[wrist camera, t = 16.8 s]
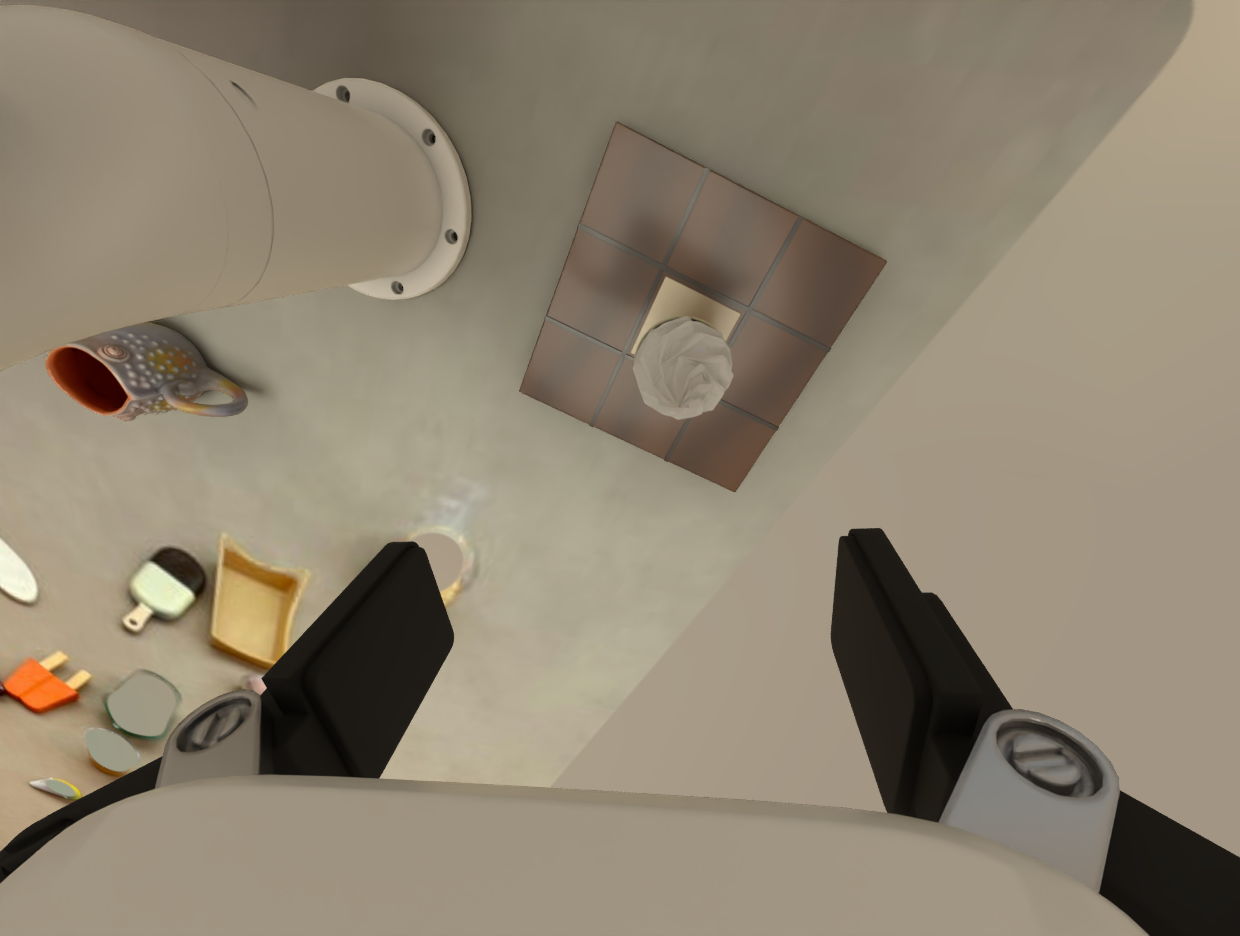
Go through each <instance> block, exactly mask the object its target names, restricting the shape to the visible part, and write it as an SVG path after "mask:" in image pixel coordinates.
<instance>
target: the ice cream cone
mask: <svg viewBox="0 0 1240 936" xmlns="http://www.w3.org/2000/svg"><path fill="white" fill-rule="evenodd" d="M633 371H634V374H635V377H636V380H637V384H638V388H639V390H640V393H641V395H642V398H643V401H644V403H645V404H646V405H648V406H650V407H651V408H653V409H654V410H656V411H658V412H659V413H661V414H663V415H666V416H671V417H673V418H675V419H677V420H679V419H685V418H691V417H696V416H698V415H701V414H702V412H707V411H711V410H713V409H714V408H715V406H716V405H717V404H718V402H719V401H720V399H721V398H722V396H723V395H724V391H725V390H726V389H727V388H728V387H729V386H730V383H731V381H732V379H733V376H734V375H733V373H732V359H731V352H730V348H729V347H728V345H727V343H726V341H725V339H724V337H723V334H722V333H721V332H720V331H718V330H717V329H716V328H715V327H714V326H712V325H711V324H710V323H708V322H706V321H704V320H702V319H699V318H696V317H692V316H674V317H670V318H667V319H664V320H662V321H660V322H658V323H657V324H655V325H654V326H652V327H651V328H650V329H649V330H648V331H647V332H646V333H645V334H644V336H643V337H642V338H641V340H640V342H639V344H638V346H637V348H636V352H635V356H634V365H633Z"/></svg>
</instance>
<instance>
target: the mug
mask: <svg viewBox="0 0 1240 936" xmlns="http://www.w3.org/2000/svg"><path fill="white" fill-rule="evenodd" d="M45 365H46V369H47V372H48V374H49V376H50V378H51V379H52V380H53V381H54V382H55V384H56V385H57V386H58V387H59V388H60V389H61V390H62V391H64V392H65V393H66V394H67V395H69V396H70V397H71V398H72V399H74V400H75V401H76V402H77V403H79V404H80V405H82V406H83V407H85V408H87V409H88V410H90V411H92V412H94V413H96V414H99V415H103V416H113V417H117V418H120V419H121V420H123V421H131V420H134V419H135V418H136V416H138V415H140V414H144V415H146V414H148V413H154V414H159V413H166V412H168V411H171V410H177V409H178V410H181V411H184V412H187V413H191V414H196V415H201V416H212V417H227V416H233V415H237V414H239V413H241V412H242V411H244V410H245V408H246V407H247V404H248V399H247V396H246V394H245V392H244V391H243V390H242V389H241V388H240V387H239V386H238V385H236V384H235V383H233V382H232V381H230V380H229V379H227V378H226V377H224V376H222V375H220V374H219V373H217V372H215V371H213V370H211V369H209V368H208V366H207V365H206V363H205V361H204V360H203V358H202V356H201V354H200V352H199V351H198V350H197V348H196V347H195V346H194V345H193V344H192V343H191V342H190V341H189V340H188V339H186V338H185V337H184V336H183V335H181V334H180V333H178V332H176V331H174V330H172V329H170V328H168V327H165V326H162V325H158V324H154V323H149V322H144V323H139V324H135V325H131V326H127V327H123V328H119V329H115V330H111V331H107V332H103V333H100V334H97V335H94V336H90V337H87V338H84V339H81V340H78V341H75V342H71V343H68V344H66V345H63V346H60V347H58V348H55V349H52V350H51V351H50V352H49V354H48V356H47V359H46V363H45ZM207 390H216V391H220V392H223V393H225V394H227V395H229V396H230V397H232V399H233V402H231V403H228V404H220V405H205V404H198V403H193V401H195V400H196V399H197V398H198V397H199V396H200V395H201V394H202V392H204V391H207Z"/></svg>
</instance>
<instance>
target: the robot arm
mask: <svg viewBox="0 0 1240 936" xmlns="http://www.w3.org/2000/svg"><path fill="white" fill-rule="evenodd" d="M349 95H350V100H349ZM434 135H435V136H436V141H435V143H433V141H432V137H433V136H434ZM471 219H472V216H471V197H470V192H469V187H468V182H467V177H466V174H465V171H464V169H463V166H462V163H461V161H460V158H459V155H458V153H457V152H456V150H455V148H454V146H453V144H452V142H451V141H450V139H449V137H448V135H447V134H446V133H445V131H444V130H443V129H442V128H441V126H440V125H439V124H438V122H437V121H436V120H435V119H434V117H433V116H432V115H431V114H429V113H428V112H427V111H426V110H425V109H424V108H423V107H422V106H421V105H420V104H419V103H418V102H416V101H415V100H413V99H411V98H410V97H408V96H407V95H405V94H403V93H402V92H400V91H398V90H396V89H394V88H391V87H389V86H387V85H385V84H383V83H379V82H375V81H371V80H368V79H364V78H342V79H338V80H334V81H331V82H327V83H325V84H323V85H321V86H320V87H318V88H316V89H314V90H313V91H311V90H308V89H305V88H302V87H299V86H296V85H293V84H290V83H288V82H285V81H282V80H279V79H276V78H273V77H270V76H267V75H264V74H261V73H258V72H255V71H253V70H250V69H247V68H244V67H241V66H238V65H235V64H232V63H229V62H226V61H223V60H221V59H218V58H215V57H212V56H209V55H206V54H203V53H200V52H197V51H194V50H191V49H188V48H186V47H183V46H180V45H177V44H174V43H171V42H168V41H165V40H162V39H159V38H156V37H153V36H151V35H148V34H146V33H144V32H141V31H139V30H136V29H133V28H130V27H127V26H124V25H121V24H118V23H115V22H112V21H109V20H106V19H103V18H100V17H97V16H93V15H89V14H85V13H81V12H77V11H72V10H67V9H62V8H54V7H46V6H37V5H0V371H1V370H3V369H6V368H8V367H11V366H13V365H15V364H18V363H20V362H22V361H25V360H27V359H29V358H32V357H34V356H37V355H39V354H42V353H44V352H47V351H50V350H52V349H55V348H58V347H60V346H63V345H66V344H68V343H71V342H75V341H78V340H81V339H84V338H87V337H90V336H94V335H97V334H100V333H103V332H107V331H111V330H115V329H119V328H123V327H127V326H131V325H135V324H139V323H144V322H149V321H153V320H158V319H163V318H168V317H173V316H178V315H183V314H189V313H194V312H199V311H205V310H210V309H216V308H221V307H228V306H235V305H240V304H246V303H252V302H257V301H262V300H268V299H273V298H279V297H284V296H290V295H295V294H301V293H306V292H312V291H317V290H322V289H328V288H333V287H339V286H344V285H347V286H349V287H350V288H352V289H354V290H356V291H357V292H360V293H363V294H366V295H368V296H371V297H374V298H380V299H386V300H402V299H409V298H413V297H417V296H420V295H423V294H425V293H428V292H430V291H433V290H434V289H435V288H437V287H438V286H440V285H441V284H442V283H444V282H445V281H446V280H447V279H448V278H449V276H450V275H451V274H452V273H453V272H454V271H455V270H456V268H457V266H458V264H459V262H460V261H461V259H462V257H463V255H464V252H465V249H466V246H467V243H468V240H469V235H470V227H471ZM455 233H456V234H457V236H458V240H455V238H454V234H455ZM401 284H402V286H403V289H402V287H401ZM453 642H454V632H453V629H452V626H451V623H450V620H449V617H448V615H447V612H446V609H445V606H444V603H443V600H442V597H441V594H440V592H439V589H438V586H437V583H436V580H435V577H434V574H433V571H432V569H431V566H430V563H429V560H428V557H427V554H426V552H425V550H424V549H423V548H421V547H419V546H418V544H417V543H415V542H391V543H388V544H387V545H386V546H385V547H384V548H383V549H382V550H381V551H380V552H379V553H378V554H377V555H376V556H375V557H374V558H373V560H372V561H371V562H370V563H369V564H368V565H367V566H366V567H365V568H364V569H363V570H362V571H361V572H360V573H359V575H358V576H357V577H356V578H355V579H354V580H353V581H352V582H351V583H350V584H349V585H348V586H347V587H346V588H345V590H344V591H343V592H342V593H341V594H340V595H339V596H338V597H337V598H336V599H335V600H334V601H333V602H332V603H331V605H330V606H329V607H328V608H327V609H326V610H325V611H324V612H323V613H322V614H321V615H320V616H319V617H318V618H317V620H316V621H315V622H314V623H313V624H312V625H311V626H310V627H309V628H308V629H307V630H306V631H305V632H304V634H303V635H302V636H301V637H300V638H299V639H298V640H297V641H296V642H295V643H294V644H293V645H292V646H291V647H290V649H289V650H288V651H287V652H286V653H285V654H284V655H283V656H282V657H281V658H280V659H279V660H278V661H277V662H276V664H275V665H274V666H273V667H272V668H271V669H270V670H269V671H268V672H267V673H266V674H265V675H264V676H263V677H262V680H263V682H264V684H265V685H266V687H267V689H266V690H265V691H264V692H263V693H262V694H261V695H259V694H258V693H256V692H255V691H253V690H246V689H243V690H237V691H232V692H229V693H226V694H223V695H220V696H218V697H216V698H214V699H212V700H210V701H208V702H206V703H205V704H203V705H202V706H200V707H199V708H197V709H196V710H194V711H193V712H192V713H190V714H189V715H188V716H187V717H186V718H185V719H184V720H183V721H181V722H180V723H179V724H178V726H177V727H176V728H175V729H174V731H173V732H172V733H171V734H170V736H169V738H168V740H167V743H166V745H165V748H164V752H163V756H162V757H160V758H158V759H156V760H154V761H152V762H150V763H148V764H147V765H145V766H143V767H141V768H139V769H137V770H135V771H133V772H131V773H129V774H127V775H125V776H123V777H121V778H119V779H117V780H115V781H114V782H112V783H110V784H108V785H106V786H104V787H102V788H100V789H98V790H96V791H94V792H92V793H90V794H88V795H86V796H84V797H82V798H81V799H79V800H77V801H75V802H73V803H71V804H69V805H67V806H65V807H63V808H61V809H59V810H57V811H55V812H53V813H52V814H50V815H48V816H46V817H45V818H43V819H41V820H39V821H37V822H36V823H34V824H32V825H31V826H29V827H27V828H26V829H25V830H23V831H22V832H21V833H19V834H18V835H17V836H16V837H15V838H14V839H13V840H12V841H11V842H10V843H9V844H8V845H7V846H6V847H5V848H4V849H3V850H2V851H0V936H1240V857H1238V856H1236V855H1234V854H1233V853H1231V852H1229V851H1227V850H1226V849H1224V848H1222V847H1220V846H1218V845H1216V844H1215V843H1213V842H1211V841H1209V840H1208V839H1206V838H1204V837H1202V836H1201V835H1199V834H1197V833H1195V832H1193V831H1192V830H1190V829H1188V828H1186V827H1184V826H1183V825H1181V824H1179V823H1177V822H1176V821H1174V820H1172V819H1170V818H1168V817H1167V816H1165V815H1163V814H1161V813H1159V812H1158V811H1156V810H1154V809H1152V808H1150V807H1149V806H1147V805H1145V804H1143V803H1142V802H1140V801H1138V800H1136V799H1134V798H1133V797H1131V796H1129V795H1127V794H1126V793H1124V792H1122V791H1120V789H1119V777H1118V775H1117V774H1116V771H1115V769H1114V768H1113V765H1112V764H1111V761H1110V760H1109V759H1108V758H1107V757H1106V756H1105V754H1104V753H1103V752H1102V751H1101V750H1100V749H1099V748H1098V747H1097V746H1096V745H1095V744H1094V743H1093V742H1092V741H1090V740H1089V739H1088V738H1086V737H1085V736H1084V735H1083V734H1082V733H1080V732H1079V731H1077V730H1075V729H1074V728H1072V727H1070V726H1068V725H1067V724H1065V723H1063V722H1061V721H1060V720H1057V719H1054V718H1052V717H1049V716H1046V715H1044V714H1041V713H1038V712H1033V711H1026V710H1022V709H1014V710H1013V709H1012V707H1011V706H1010V704H1009V702H1008V701H1007V699H1006V698H1005V696H1004V695H1003V693H1002V692H1001V691H1000V689H999V687H998V686H997V684H996V683H995V681H994V680H993V678H992V677H991V675H990V674H989V672H988V671H987V669H986V668H985V666H984V665H983V664H982V662H981V660H980V659H979V657H978V656H977V654H976V653H975V651H974V650H973V648H972V646H971V645H970V644H969V642H968V640H967V639H966V637H965V636H964V634H963V633H962V631H961V630H960V628H959V627H958V625H957V624H956V622H955V621H954V619H953V618H952V617H951V615H950V613H949V612H948V610H947V609H946V607H945V606H944V604H943V603H942V601H941V600H940V599H939V598H938V596H937V595H935V594H933V593H922V592H921V591H920V590H919V588H918V586H917V585H916V583H915V581H914V580H913V578H912V576H911V575H910V573H909V572H908V570H907V568H906V567H905V565H904V564H903V562H902V560H901V559H900V557H899V556H898V554H897V552H896V551H895V549H894V548H893V546H892V544H891V543H890V541H889V539H888V538H887V537H886V535H885V533H884V532H883V530H882V529H880V528H868V529H851V530H850V531H849V533H848V536H841V537H840V539H839V545H838V557H837V569H836V580H835V591H834V603H833V614H832V625H831V644H832V649H833V653H834V656H835V659H836V662H837V665H838V667H839V671H840V673H841V677H842V680H843V683H844V686H845V689H846V692H847V694H848V697H849V700H850V704H851V707H852V710H853V713H854V716H855V719H856V722H857V725H858V728H859V731H860V734H861V737H862V740H863V742H864V746H865V749H866V752H867V755H868V758H869V761H870V764H871V767H872V770H873V773H874V776H875V779H876V782H877V785H878V788H879V791H880V794H881V797H882V800H883V803H884V806H885V808H886V811H887V813H883V812H875V811H867V810H860V809H859V810H858V809H852V808H843V807H830V806H818V805H806V804H792V803H781V802H768V801H755V800H742V799H726V798H710V797H694V796H677V795H661V794H646V793H630V792H614V791H597V790H579V789H562V788H545V787H528V786H510V785H492V784H474V783H456V782H436V781H416V780H396V779H379V778H380V776H381V774H382V773H383V771H384V769H385V767H386V765H387V764H388V762H389V760H390V758H391V756H392V755H393V753H394V751H395V749H396V747H397V746H398V744H399V742H400V740H401V738H402V737H403V735H404V733H405V731H406V729H407V728H408V726H409V724H410V722H411V720H412V719H413V717H414V715H415V713H416V711H417V710H418V708H419V706H420V704H421V702H422V701H423V699H424V697H425V695H426V693H427V692H428V690H429V688H430V686H431V684H432V683H433V681H434V679H435V677H436V675H437V674H438V672H439V670H440V668H441V666H442V665H443V663H444V661H445V659H446V657H447V656H448V654H449V652H450V650H451V648H452V646H453Z"/></svg>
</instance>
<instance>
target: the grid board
mask: <svg viewBox="0 0 1240 936" xmlns="http://www.w3.org/2000/svg"><path fill="white" fill-rule="evenodd" d="M577 228H578V229H577V232H576V234H575V237H574V240H573V243H572V246H571V248H570V251H569V254H568V257H567V259H566V262H565V265H564V268H563V271H562V273H561V276H560V279H559V282H558V284H557V287H556V290H555V293H554V296H553V298H552V301H551V304H550V307H549V309H548V312H547V315H546V316H545V319H544V320H545V321H544V323H543V326H542V329H541V332H540V334H539V337H538V340H537V343H536V346H535V348H534V351H533V354H532V357H531V359H530V362H529V365H528V368H527V371H526V373H525V376H524V379H523V382H522V384H521V387H520V390H519V391H520V392H521V393H523V394H526V395H528V396H530V397H532V398H534V399H536V400H538V401H541V402H543V403H545V404H547V405H549V406H551V407H553V408H556V409H558V410H560V411H562V412H564V413H566V414H568V415H570V416H573V417H575V418H577V419H579V420H581V421H583V422H585V423H588V424H590V426H592V427H593V426H594V427H596V428H598V429H600V430H603V431H605V432H607V433H609V434H611V435H613V436H615V437H618V438H620V439H622V440H624V441H626V442H628V443H630V444H633V445H635V446H637V447H639V448H641V449H643V450H645V451H648V452H650V453H652V454H654V455H656V456H658V457H660V458H662V459H664V460H665V461H667V462H668V461H669V462H671V463H673V464H675V465H677V466H680V467H682V468H684V469H686V470H688V471H690V472H692V473H695V474H697V475H699V476H701V477H703V478H705V479H707V480H710V481H712V482H714V483H716V484H718V485H720V486H722V487H725V488H727V489H729V490H731V491H733V492H736V490H737V489H738V487H739V486H740V484H741V483H742V481H743V480H744V478H745V477H746V475H747V474H748V472H749V471H750V469H751V468H752V466H753V465H754V463H755V462H756V460H757V459H758V457H759V456H760V454H761V453H762V451H763V449H764V448H765V446H766V445H767V443H768V442H769V440H770V439H771V437H772V436H773V434H774V433H775V431H777V430H778V428H779V425H780V424H781V422H782V421H783V419H784V418H785V416H786V415H787V413H788V412H789V410H790V408H791V407H792V405H793V404H794V402H795V401H796V399H797V398H798V396H799V395H800V393H801V392H802V390H803V389H804V387H805V386H806V384H807V383H808V381H809V380H810V378H811V377H812V375H813V374H814V372H815V370H816V369H817V367H818V366H819V364H820V363H821V361H822V360H823V358H824V357H825V355H826V354H827V352H829V351H830V349H831V346H832V345H833V343H834V342H835V340H836V339H837V337H838V336H839V334H840V333H841V331H842V329H843V328H844V326H845V325H846V323H847V322H848V320H849V319H850V317H851V316H852V314H853V313H854V311H855V310H856V308H857V307H858V305H859V304H860V302H861V301H862V299H863V298H864V296H865V295H866V293H867V292H868V290H869V288H870V287H871V285H872V284H873V282H874V281H875V279H876V278H877V276H878V275H879V273H880V272H881V270H882V269H883V267H884V266H885V264H886V263H887V261H886V260H884V259H882V258H880V257H878V256H876V255H874V254H872V253H870V252H869V251H867V250H865V249H863V248H861V247H859V246H857V245H855V244H853V243H851V242H849V241H847V240H845V239H843V238H841V237H840V236H838V235H836V234H834V233H832V232H830V231H828V230H826V229H824V228H822V227H820V226H818V225H816V224H814V223H812V222H811V221H809V220H807V219H805V218H803V217H801V216H799V215H797V214H795V213H793V212H791V211H789V210H787V209H785V208H783V207H782V206H780V205H778V204H776V203H774V202H772V201H770V200H768V199H766V198H764V197H762V196H760V195H758V194H756V193H754V192H753V191H751V190H749V189H747V188H745V187H743V186H741V185H739V184H737V183H735V182H733V181H731V180H729V179H727V178H725V177H724V176H722V175H720V174H718V173H716V172H714V171H712V170H710V169H709V168H707V167H704V166H702V165H700V164H698V163H696V162H695V161H693V160H691V159H689V158H687V157H685V156H683V155H681V154H679V153H677V152H675V151H673V150H671V149H669V148H667V147H666V146H664V145H662V144H660V143H658V142H656V141H654V140H652V139H650V138H648V137H646V136H644V135H642V134H640V133H638V132H637V131H635V130H633V129H631V128H629V127H627V126H625V125H623V124H621V123H619V122H616V123H615V126H614V129H613V132H612V134H611V137H610V140H609V143H608V145H607V148H606V151H605V154H604V157H603V159H602V162H601V165H600V168H599V170H598V173H597V176H596V179H595V182H594V184H593V187H592V190H591V193H590V195H589V198H588V201H587V204H586V207H585V209H584V212H583V215H582V218H581V220H580V223H579V224H578V227H577ZM674 316H692V317H696V318H699V319H702V320H704V321H706V322H708V323H710V324H711V325H712V326H714V327H715V328H716V329H717V330H718V331H720V332H721V333H722V334H723V337H724V339H725V341H726V343H727V345H728V347H729V348H730V352H731V359H732V373H733V375H734V376H733V379H732V381H731V383H730V386H729V387H728V388H727V389H726V390H725V391H724V395H723V396H722V398H721V399H720V401H719V402H718V404H717V405H716V406H715V408H714V409H713V410H711V411H707V412H702V414H701V415H698V416H696V417H691V418H685V419H679V420H677V419H675V418H673V417H671V416H666V415H663V414H661V413H659V412H658V411H656V410H654V409H653V408H651V407H650V406H648V405H646V404H645V403H644V401H643V398H642V395H641V393H640V390H639V388H638V384H637V380H636V377H635V374H634V371H633V365H634V356H635V352H636V348H637V346H638V344H639V342H640V340H641V338H642V337H643V336H644V334H645V333H646V332H647V331H648V330H649V329H650V328H651V327H652V326H654V325H655V324H657V323H658V322H660V321H662V320H664V319H667V318H670V317H674Z"/></svg>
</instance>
